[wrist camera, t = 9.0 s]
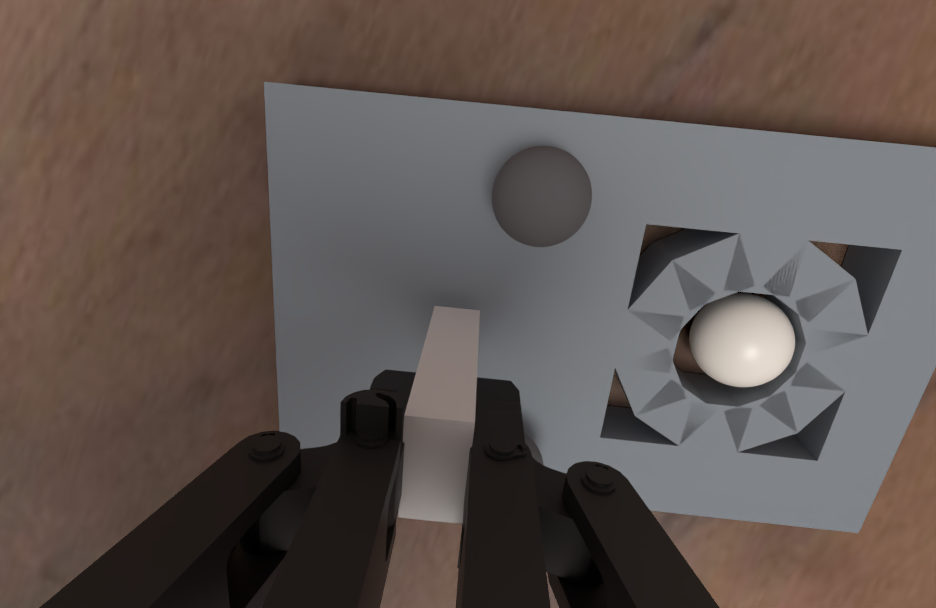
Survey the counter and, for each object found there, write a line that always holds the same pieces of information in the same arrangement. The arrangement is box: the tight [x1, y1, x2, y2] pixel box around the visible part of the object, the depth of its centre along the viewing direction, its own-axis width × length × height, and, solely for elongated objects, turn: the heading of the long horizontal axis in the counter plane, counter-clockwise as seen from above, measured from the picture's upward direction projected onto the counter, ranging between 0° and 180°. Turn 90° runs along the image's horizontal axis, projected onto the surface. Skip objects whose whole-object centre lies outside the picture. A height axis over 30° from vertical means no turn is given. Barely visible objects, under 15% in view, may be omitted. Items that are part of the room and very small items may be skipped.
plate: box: [264, 82, 936, 533], centre depth 20 cm, size 24×15×2 cm, turn 85°
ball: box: [689, 293, 795, 387], centre depth 19 cm, size 4×4×4 cm
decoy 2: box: [492, 146, 592, 247], centre depth 16 cm, size 3×3×3 cm
